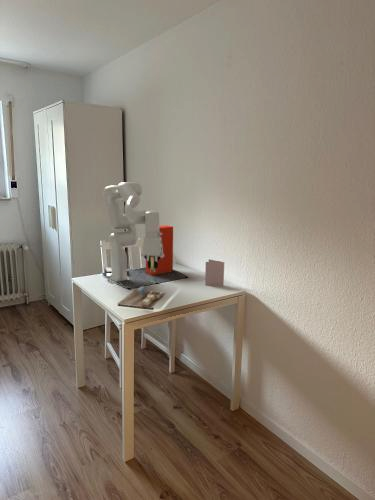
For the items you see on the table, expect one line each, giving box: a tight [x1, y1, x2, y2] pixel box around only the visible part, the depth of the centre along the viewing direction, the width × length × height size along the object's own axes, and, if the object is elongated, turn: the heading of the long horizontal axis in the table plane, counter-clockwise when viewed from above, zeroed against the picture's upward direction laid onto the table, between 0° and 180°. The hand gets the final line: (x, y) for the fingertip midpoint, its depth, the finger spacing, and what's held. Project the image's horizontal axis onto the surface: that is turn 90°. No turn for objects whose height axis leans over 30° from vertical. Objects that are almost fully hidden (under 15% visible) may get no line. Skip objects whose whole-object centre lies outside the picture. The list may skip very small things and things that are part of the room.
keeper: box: [137, 285, 147, 294], centre depth 198 cm, size 2×7×4 cm, turn 165°
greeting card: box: [204, 259, 225, 287], centre depth 221 cm, size 11×7×15 cm, turn 54°
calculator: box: [103, 267, 130, 276], centre depth 243 cm, size 11×4×15 cm
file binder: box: [145, 224, 174, 276], centre depth 245 cm, size 8×17×32 cm, turn 127°
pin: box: [150, 256, 155, 272], centre depth 192 cm, size 3×3×9 cm
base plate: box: [117, 289, 166, 311], centre depth 193 cm, size 19×22×2 cm
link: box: [141, 290, 163, 307], centre depth 190 cm, size 18×6×2 cm, turn 165°
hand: (152, 267), depth 193 cm, fingers closed on pin, 2 cm apart
